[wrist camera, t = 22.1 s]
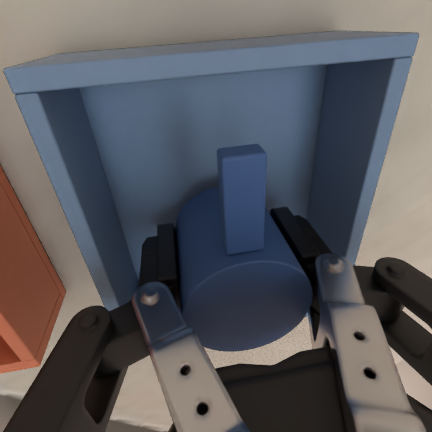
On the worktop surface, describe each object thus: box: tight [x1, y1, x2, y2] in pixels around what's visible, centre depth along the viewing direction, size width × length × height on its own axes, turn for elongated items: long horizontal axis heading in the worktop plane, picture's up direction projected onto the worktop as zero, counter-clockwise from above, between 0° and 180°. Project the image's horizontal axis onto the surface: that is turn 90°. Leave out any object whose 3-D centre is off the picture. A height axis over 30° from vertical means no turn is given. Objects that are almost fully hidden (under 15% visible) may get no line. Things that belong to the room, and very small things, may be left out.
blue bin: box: [3, 31, 419, 317], centre depth 13 cm, size 12×11×5 cm
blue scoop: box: [175, 144, 313, 351], centre depth 11 cm, size 8×5×5 cm, turn 4°
